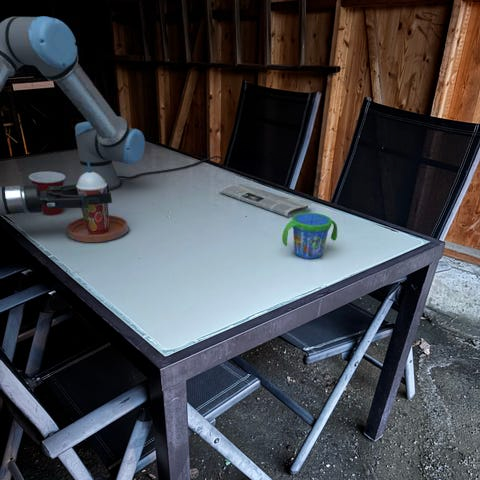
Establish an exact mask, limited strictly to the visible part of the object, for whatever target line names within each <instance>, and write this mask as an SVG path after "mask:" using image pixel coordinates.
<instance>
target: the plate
mask: <svg viewBox="0 0 480 480" xmlns="http://www.w3.org/2000/svg"><path fill="white" fill-rule="evenodd" d="M66 231H67V236H68V237H69V238H70V239H71V240H75V241H78V242H83V243H102V242H107V241H113V240H116V239H119V238H121V237H123V236H124V235H125V234H127V232H128V231H129V227H128V222H127V220H126V219H124V218H123V217H120V216H117V215H111V214H109V227H108V231H107V232H105V233H102V234H92V233H89V232H88V229H86V227H85V222H84V218H83V217H80V218H76V219H74V220H72V221H70V222H69V223H68V224H67V225H66Z"/></svg>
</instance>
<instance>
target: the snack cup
mask: <svg viewBox="0 0 480 480" xmlns="http://www.w3.org/2000/svg"><path fill="white" fill-rule="evenodd" d="M332 226H333V229H332V232H331V235H330V239H331V240H332V241H336V240H337V238H338V226H337V223H336V222H335V221H334V220H333V219H332V218H331V217H329V216H327V215H325V214H323V213H318V212H317V213H316V212H303V213H299V214H296V215H294V216H291V220H290V221H289V222H288V223H287V224H285V227H284V229H283V231H282V237H281V241H282V244H283V246H285V247H287V246H288V237H289V236H288V235H289V230H291V228H292V230H293V249H294V253H295V255H296V256H299V257H300V258H304V259H306V260H309V259H316V258H320V257H321V255H322V254H323V252H324V248H325V246H326V241H327V238H328V233H329V230H330V229H331V227H332Z"/></svg>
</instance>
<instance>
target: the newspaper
mask: <svg viewBox="0 0 480 480" xmlns="http://www.w3.org/2000/svg"><path fill="white" fill-rule="evenodd" d="M219 193H220V194H223V195H225V196H229V197H231V198H234V199H237V200H239V201H243V202H246V203H248V204H250V205H253V206H257V207H259V208H262V209H265V210H268V211H270V212H274V213H276V214H279V215H281V216H284V217H288V218H292V217H293V216H294V215H296V214H299V213H306V211H307V210H308V209H309V206H310V205H312V204H313V201H310V200H306V199H301V198H297V197H292V196H288V195H287V196H286V195H282V194H278V193H275V192H272V191H268V190H266V189H264V188H260V187H257V186H254V185H252V184H249V183H245V184H243V183H234V184H229V185H227V186H224V187H221V188H220V189H219Z"/></svg>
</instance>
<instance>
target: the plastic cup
mask: <svg viewBox="0 0 480 480" xmlns="http://www.w3.org/2000/svg"><path fill="white" fill-rule="evenodd" d="M28 179H29V180H30V182H31V185H35V184H36V185H38V186H39V190H40V191H45V190H47V187H49V186H50V187H56V186H64V182H65V179H66V175H65V174H63V173H61V172H57V171H38V172H34V173H31V174H29V175H28ZM63 211H64V208H59V209H51V210H50V209H48V207H47V206H43V211H42V213H43V214H45V215H48V216H55V215H59V214H61V213H63Z"/></svg>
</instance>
